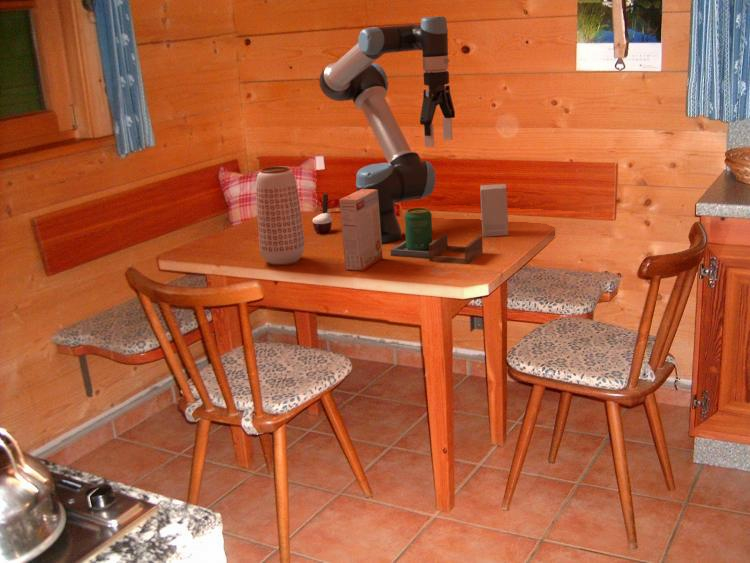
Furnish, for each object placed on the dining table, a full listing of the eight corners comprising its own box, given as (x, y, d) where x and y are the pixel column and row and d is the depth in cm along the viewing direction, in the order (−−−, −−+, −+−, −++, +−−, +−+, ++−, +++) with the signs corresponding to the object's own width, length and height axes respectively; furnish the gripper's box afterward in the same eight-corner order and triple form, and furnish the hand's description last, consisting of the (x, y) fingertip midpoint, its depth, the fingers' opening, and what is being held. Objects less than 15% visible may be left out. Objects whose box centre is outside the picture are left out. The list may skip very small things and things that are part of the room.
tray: (390, 255, 257) (390, 249, 256) (408, 244, 268) (408, 238, 267) (431, 258, 251) (430, 252, 251) (447, 247, 262) (447, 241, 262)
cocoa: (321, 237, 285) (317, 202, 281) (307, 234, 289) (304, 199, 285) (340, 229, 292) (337, 195, 287) (327, 226, 296) (324, 193, 291)
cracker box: (365, 256, 257) (360, 188, 251) (383, 258, 255) (379, 188, 248) (343, 270, 245) (338, 198, 239) (362, 271, 243) (357, 199, 237)
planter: (274, 254, 266) (265, 164, 258) (313, 256, 261) (305, 164, 252) (253, 266, 254) (243, 172, 246) (293, 269, 249) (284, 173, 241)
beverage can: (434, 245, 262) (433, 207, 259) (430, 252, 255) (429, 213, 251) (408, 245, 264) (407, 207, 260) (404, 252, 257) (402, 213, 253)
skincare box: (507, 231, 276) (506, 183, 271) (508, 236, 270) (507, 187, 265) (481, 232, 277) (480, 184, 272) (481, 237, 271) (480, 188, 266)
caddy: (429, 261, 249) (428, 244, 247) (444, 250, 259) (444, 234, 257) (468, 264, 243) (467, 247, 242) (482, 252, 254) (482, 236, 252)
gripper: (429, 74, 242) (433, 149, 248) (464, 67, 262) (466, 136, 269) (405, 75, 245) (409, 149, 251) (441, 67, 266) (444, 136, 272)
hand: (439, 143), depth 260 cm, fingers open, 13 cm apart
